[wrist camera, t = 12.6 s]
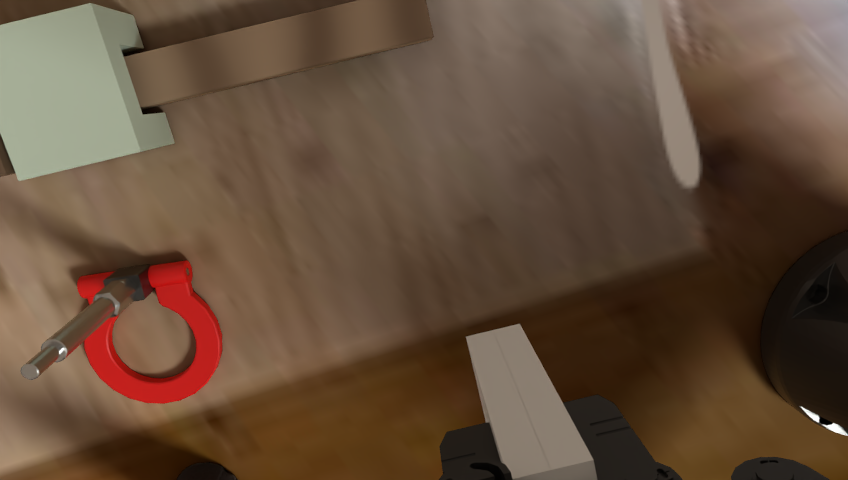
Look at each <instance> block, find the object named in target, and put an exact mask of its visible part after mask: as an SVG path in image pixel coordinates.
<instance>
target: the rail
mask: <svg viewBox="0 0 848 480" xmlns="http://www.w3.org/2000/svg"><path fill="white" fill-rule="evenodd" d="M433 37H434V36H433V31H432V27H431V22H430V17H429V13H428V8H427V4H426V0H356V1H352V2H348V3H344V4H340V5H336V6H332V7H328V8H323V9H319V10H315V11H311V12H307V13H303V14H299V15H295V16H290V17H286V18H282V19H278V20H274V21H270V22H266V23H262V24H257V25H253V26H249V27H245V28H241V29H237V30H233V31H229V32H224V33H220V34H216V35H212V36H208V37H204V38H200V39H196V40H191V41H187V42H183V43H179V44H175V45H171V46H167V47H163V48H158V49H154V50H150V51H146V52H142V53H138V54H134V55H130V56H125V57H124V60H125V63H126V66H127V69H128V72H129V75H130V78H131V81H132V84H133V87H134V90H135V93H136V96H137V99H138V102H139V105H140V108H141V110H143V109H148V108H152V107H156V106H160V105H164V104H168V103H172V102H177V101H181V100H185V99H189V98H193V97H197V96H201V95H206V94H210V93H214V92H218V91H222V90H226V89H230V88H235V87H239V86H243V85H247V84H251V83H255V82H259V81H263V80H268V79H272V78H276V77H280V76H284V75H288V74H292V73H297V72H301V71H305V70H309V69H313V68H317V67H321V66H326V65H330V64H334V63H338V62H342V61H346V60H350V59H355V58H359V57H363V56H367V55H371V54H375V53H379V52H383V51H388V50H392V49H396V48H400V47H404V46H408V45H412V44H417V43H421V42H425V41H429V40H432V38H433ZM10 174H15V170H14V168H13V165H12V162H11V160H10V157H9V155H8V152H7V149H6V147H5V144H4V142H3V139H2V137H1V134H0V177H1V176H6V175H10Z"/></svg>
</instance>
